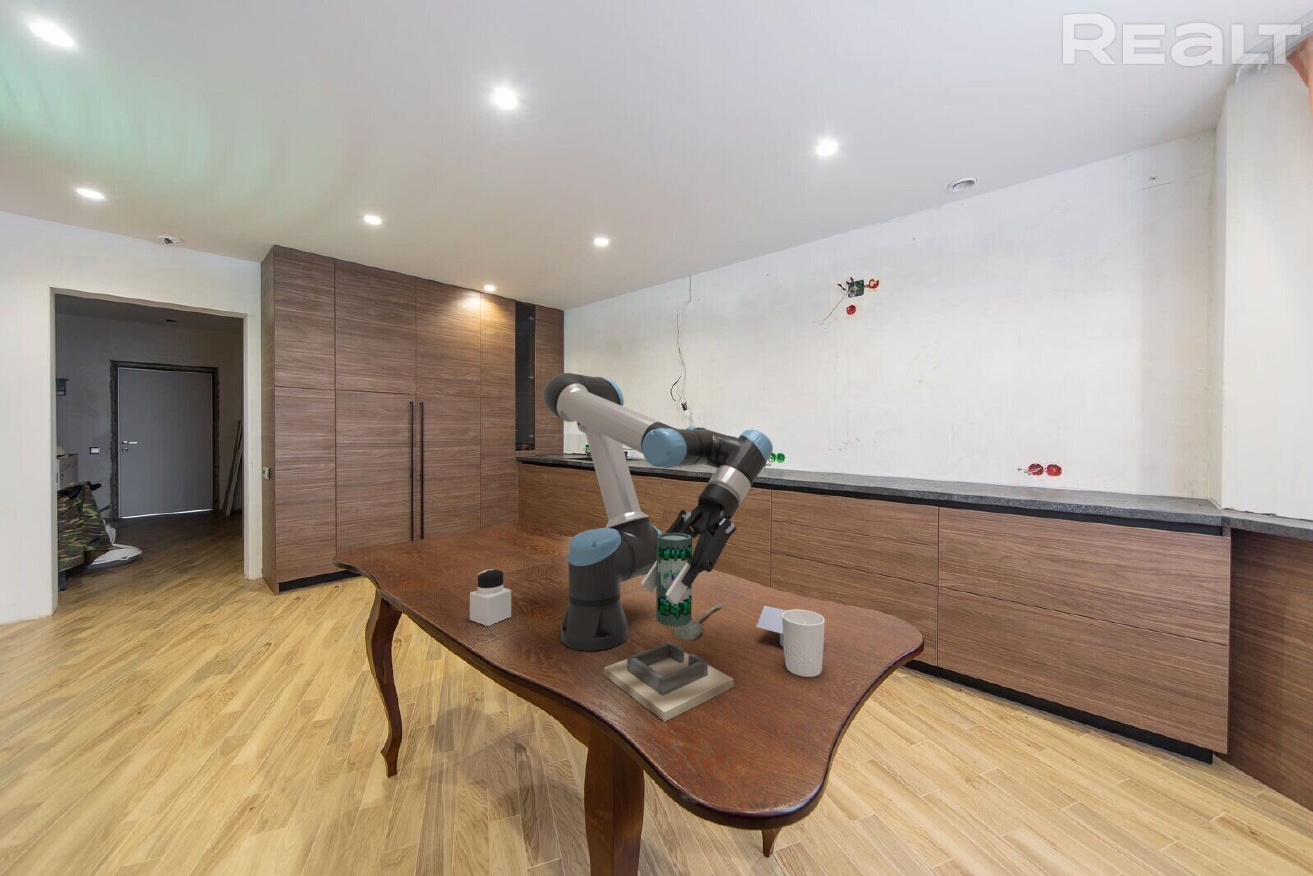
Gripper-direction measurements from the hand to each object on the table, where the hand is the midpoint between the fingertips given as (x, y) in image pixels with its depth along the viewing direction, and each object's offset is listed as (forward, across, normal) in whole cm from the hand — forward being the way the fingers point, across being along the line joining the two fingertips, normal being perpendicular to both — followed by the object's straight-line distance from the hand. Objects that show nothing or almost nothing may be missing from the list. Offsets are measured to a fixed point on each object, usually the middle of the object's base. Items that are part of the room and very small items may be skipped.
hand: (658, 593), depth 79 cm
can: (+1, 0, -6) cm, 7 cm away
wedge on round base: (-13, -3, -37) cm, 40 cm away
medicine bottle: (+22, +51, -4) cm, 56 cm away
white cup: (-7, -11, -32) cm, 34 cm away
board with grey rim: (+10, +2, -15) cm, 18 cm away
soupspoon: (-6, +17, -32) cm, 37 cm away
